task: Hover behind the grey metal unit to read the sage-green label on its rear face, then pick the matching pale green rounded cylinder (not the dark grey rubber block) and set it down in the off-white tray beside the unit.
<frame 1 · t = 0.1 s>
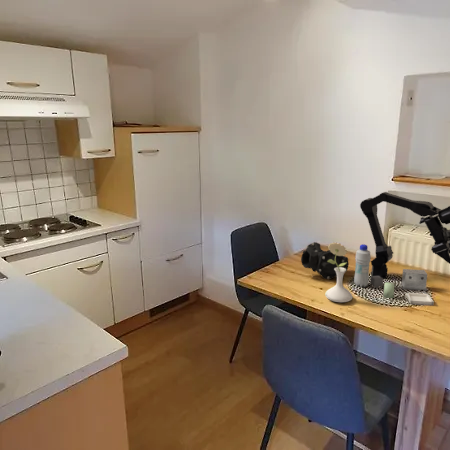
bottle: (360, 285, 182), on the table
tray: (419, 300, 166), on the table
unit: (413, 287, 178), on the table
pale green rounded cylinder: (388, 296, 170), on the table
valve: (318, 271, 201), on the table
flower in vase: (337, 298, 170), on the table
grey block: (376, 285, 182), on the table
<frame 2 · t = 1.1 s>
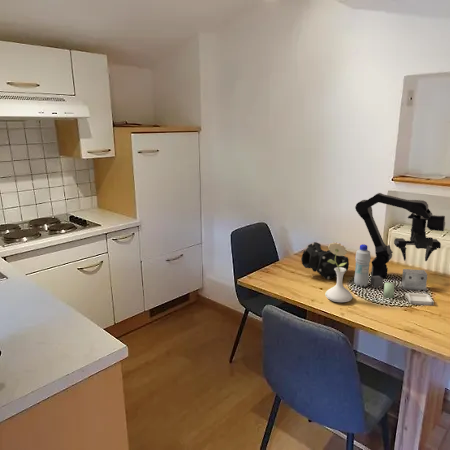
hand: (415, 260, 181), 11 cm above the table, tool pointing down, fingers open, 9 cm apart
nothing on the table moved.
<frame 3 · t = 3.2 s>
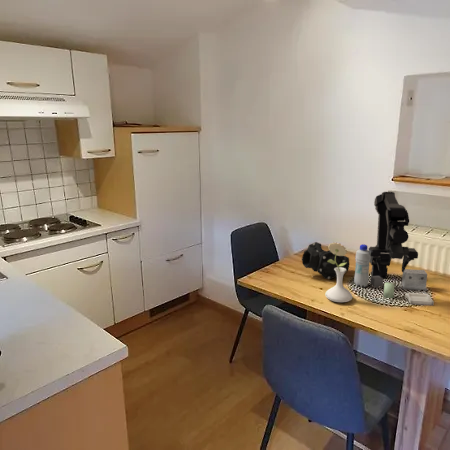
hand: (391, 271, 167), 12 cm above the table, tool pointing down, fingers open, 9 cm apart
nothing on the table moved.
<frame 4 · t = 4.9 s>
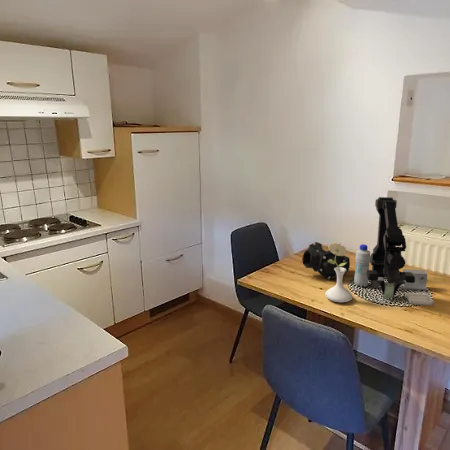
hand: (388, 294, 170), 1 cm above the table, tool pointing down, fingers closed on pale green rounded cylinder, 4 cm apart
pale green rounded cylinder: (388, 296, 170), on the table, touching gripper
everything else where it was.
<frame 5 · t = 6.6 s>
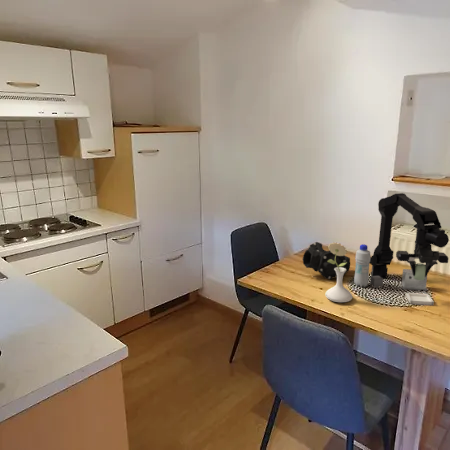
hand: (419, 276, 163), 11 cm above the table, tool pointing down, fingers closed on pale green rounded cylinder, 4 cm apart
pale green rounded cylinder: (419, 278, 163), point 10 cm above the table, touching gripper
everything else where it was.
when the fingers open (3 cm above the table, at t = 8.5 s): pale green rounded cylinder drops 1 cm, resting on tray.
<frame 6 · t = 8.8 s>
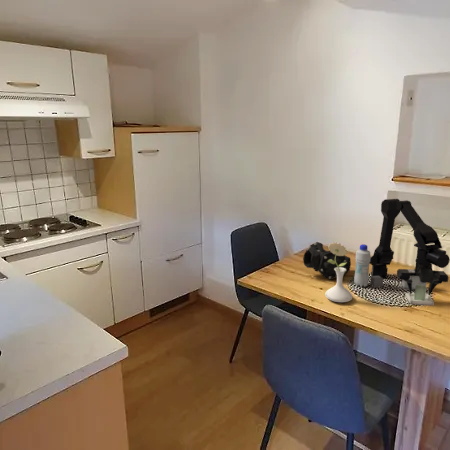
hand: (419, 294, 165), 3 cm above the table, tool pointing down, fingers open, 7 cm apart
pale green rounded cylinder: (419, 299, 166), point 1 cm above the table, touching tray
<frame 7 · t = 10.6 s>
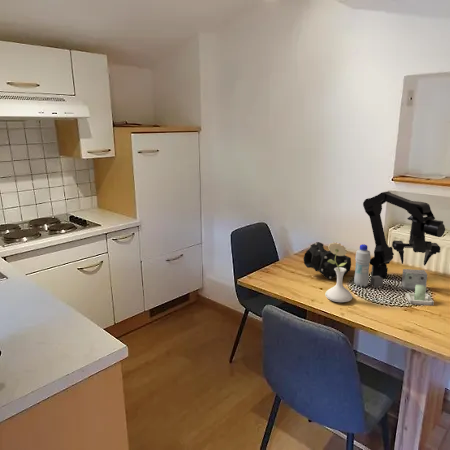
hand: (413, 264, 175), 12 cm above the table, tool pointing down, fingers open, 9 cm apart
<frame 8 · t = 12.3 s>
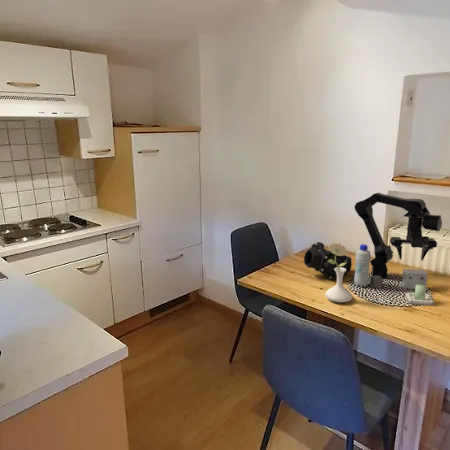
hand: (411, 259, 180), 12 cm above the table, tool pointing down, fingers open, 9 cm apart
at the end: pale green rounded cylinder inside the target area on the tray (0.0 cm from its centre), point 0.5 cm above the tray's base; pale green rounded cylinder tilted 1°; the gripper is holding nothing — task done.
